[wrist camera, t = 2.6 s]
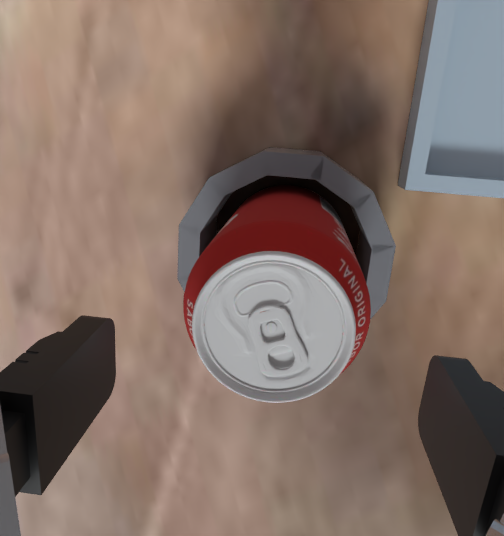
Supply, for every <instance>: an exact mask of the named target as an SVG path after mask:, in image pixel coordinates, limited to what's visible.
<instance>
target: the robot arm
mask: <svg viewBox="0 0 504 536" xmlns="http://www.w3.org/2000/svg"><path fill="white" fill-rule="evenodd" d="M115 376H116V363H115V326H114V322H113V320H112V319H110V318H101V317H92V316H80V317H79V318H78V319H77V320H75V321H74V322H73V323H72V324H71V325H70V326H69V327H67V328H66V329H65V330H64V331H63V332H56V333H54V334H52V335H50V336H47V337H45V338H43V339H40V340H39V341H37V342H36V343H35V344H34V345H33V346H31V347H30V348H29V349H28V350H27V351H26V353H23V354H22V355H21V356H19V357H18V358H17V359H16V361H15V362H12V363H11V364H10V365H8V366H7V367H6V368H5V369H4V370H2V371H1V372H0V536H21V534H20V527H19V520H18V514H17V507H16V500H15V497H16V495H17V494H18V493H19V492H23V493H30V494H37V495H42V493H43V492H44V490H45V489H46V488H47V486H48V485H49V483H50V482H51V480H52V479H53V478H54V476H55V475H56V473H57V472H58V470H59V469H60V468H61V466H62V465H63V463H64V462H65V460H66V459H67V457H68V456H69V455H70V453H71V452H72V450H73V449H74V447H75V446H76V445H77V443H78V442H79V440H80V439H81V437H82V436H83V435H84V433H85V432H86V430H87V429H88V427H89V426H90V425H91V423H92V422H93V420H94V419H95V417H96V416H97V414H98V413H99V412H100V410H101V409H102V407H103V406H104V404H105V403H106V402H107V400H108V399H109V397H110V395H111V393H112V390H113V387H114V383H115ZM418 426H419V434H420V437H421V440H422V443H423V445H424V448H425V451H426V453H427V456H428V458H429V461H430V464H431V466H432V469H433V471H434V474H435V476H436V479H437V482H438V484H439V487H440V489H441V492H442V495H443V497H444V500H445V502H446V505H447V508H448V510H449V513H450V515H451V518H452V521H453V523H454V526H455V528H456V531H457V534H458V536H504V392H503V391H502V390H500V389H499V388H497V387H496V386H495V385H493V384H492V383H491V382H486V381H483V380H482V378H481V377H480V376H479V374H478V373H477V371H476V370H475V369H474V367H473V366H472V364H471V363H470V362H469V361H468V360H467V359H462V358H453V357H444V356H433V357H432V359H431V361H430V364H429V368H428V372H427V377H426V381H425V386H424V391H423V395H422V400H421V404H420V409H419V416H418Z"/></svg>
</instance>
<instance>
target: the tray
mask: <svg viewBox="0 0 504 536" xmlns="http://www.w3.org/2000/svg"><path fill="white" fill-rule="evenodd" d="M398 186H400V187H401V188H403V189H405V190H414V191H426V192H437V193H449V194H461V195H472V196H484V197H495V198H504V0H429V2H428V8H427V14H426V20H425V26H424V32H423V38H422V44H421V50H420V56H419V61H418V67H417V73H416V79H415V85H414V91H413V97H412V103H411V109H410V115H409V121H408V127H407V133H406V139H405V145H404V151H403V157H402V162H401V168H400V174H399V180H398Z"/></svg>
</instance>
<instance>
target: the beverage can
mask: <svg viewBox="0 0 504 536" xmlns="http://www.w3.org/2000/svg"><path fill="white" fill-rule="evenodd" d="M370 315H371V304H370V295H369V291H368V287H367V284H366V281H365V278H364V275H363V273H362V270H361V268H360V265H359V263H358V260H357V258H356V256H355V253H354V251H353V248H352V246H351V244H350V241H349V239H348V236H347V234H346V232H345V229H344V227H343V224H342V222H341V220H340V218H339V216H338V214H337V212H336V211H335V210H334V208H333V207H332V206H331V205H330V204H329V202H327V201H326V200H325V199H324V198H323V197H321V196H320V195H318V194H317V193H315V192H313V191H311V190H309V189H306V188H303V187H299V186H293V185H278V186H272V187H269V188H266V189H263V190H261V191H259V192H257V193H255V194H253V195H252V196H250V197H249V198H248V199H247V200H246V201H244V202H243V203H242V204H241V206H240V207H239V208H238V209H237V210H236V212H235V213H234V214H233V215H232V217H231V218H230V219H229V220H228V221H227V223H226V224H225V225H224V226H223V228H222V229H221V230H220V231H219V233H218V234H217V235H216V236H215V237H214V239H213V240H212V241H211V242H210V244H209V245H208V246H207V247H206V249H205V250H204V251H203V252H202V254H201V255H200V257H199V258H198V259H197V261H196V263H195V264H194V266H193V268H192V270H191V272H190V274H189V277H188V280H187V283H186V288H185V293H184V318H185V324H186V328H187V331H188V334H189V337H190V339H191V341H192V343H193V345H194V347H195V349H196V350H197V352H198V354H199V356H200V358H201V360H202V362H203V363H204V365H205V366H206V368H207V369H208V371H209V372H210V373H211V374H212V375H213V376H214V377H215V378H216V379H217V380H218V381H219V382H220V383H222V384H223V385H224V386H226V387H227V388H228V389H230V390H232V391H233V392H235V393H237V394H239V395H242V396H244V397H247V398H250V399H253V400H257V401H263V402H271V403H283V402H291V401H296V400H300V399H304V398H306V397H309V396H311V395H313V394H315V393H317V392H319V391H321V390H322V389H324V388H325V387H327V386H328V385H329V384H330V383H332V382H333V381H334V380H335V379H336V378H337V377H338V375H340V374H341V373H342V372H343V371H344V370H345V369H346V368H347V367H348V366H349V365H350V364H351V363H352V361H353V360H354V359H355V357H356V356H357V354H358V353H359V351H360V349H361V348H362V346H363V343H364V341H365V339H366V335H367V332H368V328H369V324H370Z"/></svg>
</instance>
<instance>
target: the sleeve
mask: <svg viewBox="0 0 504 536" xmlns="http://www.w3.org/2000/svg"><path fill="white" fill-rule="evenodd" d="M267 175H269V176H281V177H293V178H304V179H315V180H317V181H318V182H319V183H321V184H322V185H324V186H325V187H326V188H328V189H329V190H331V191H332V192H333V193H335V194H336V195H338V196H339V197H340V198H342V199H343V200H345V201H346V202H347V203H349V204H350V206H351V209H352V211H353V214H354V216H355V218H356V221H357V223H358V225H359V228H360V231H359V238H358V244H357V251H356V258H357V260H358V263H359V265H360V268H361V270H362V273H363V275H364V278H365V281H366V284H367V287H368V291H369V295H370V304H371V315H370V319H371V318H372V317H373V316H374V315H375V313H376V312H377V311H378V310H379V309H380V308H381V306H382V305H383V304H384V303H385V302H386V299H387V293H388V287H389V281H390V276H391V270H392V264H393V258H394V253H395V247H396V245H395V243H394V241H393V238H392V236H391V233H390V231H389V228H388V226H387V223H386V221H385V219H384V216H383V214H382V211H381V209H380V206H379V204H378V202H377V199H376V197H375V194H374V192H373V191H372V190H371V189H370V188H369V187H368V186H366V185H365V184H364V183H363V182H362V181H361V180H360V179H358V178H357V177H355V176H354V175H353V174H351V173H350V172H348V171H347V170H346V169H344V168H343V167H341V166H340V165H339V164H337V163H336V162H335V161H333V160H332V159H330V158H329V157H328V156H326V155H325V154H323V153H322V152H321V151H312V150H299V149H287V148H275V147H269V148H267V149H265V150H263V151H261V152H259V153H257V154H255V155H253V156H251V157H249V158H247V159H245V160H243V161H241V162H239V163H237V164H235V165H233V166H231V167H229V168H227V169H225V170H223V171H221V172H219V173H217V174H215V175H213V176H211V177H210V178H209V179H208V180H207V182H206V183H205V185H204V187H203V188H202V190H201V191H200V193H199V194H198V196H197V198H196V199H195V201H194V202H193V204H192V205H191V207H190V209H189V210H188V212H187V213H186V215H185V216H184V218H183V220H182V221H181V223H180V224H179V242H178V281H179V283H180V285H181V286H182V288H183V290H184V292H185V288H186V283H187V280H188V277H189V274H190V272H191V270H192V268H193V266H194V264H195V263H196V261H197V259H198V258H199V257H200V255H201V254H202V252H203V251H204V250H205V249H206V247H207V246H208V245H209V244H210V242H211V241H212V240H213V239H214V237H215V236H216V235H217V215H218V214H219V212H220V211H221V209H222V208H223V206H224V205H225V203H226V202H227V200H228V199H229V197H230V196H231V194H232V193H233V191H235V190H237V189H239V188H241V187H244V186H246V185H248V184H250V183H252V182H254V181H256V180H258V179H260V178H262V177H264V176H267Z"/></svg>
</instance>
